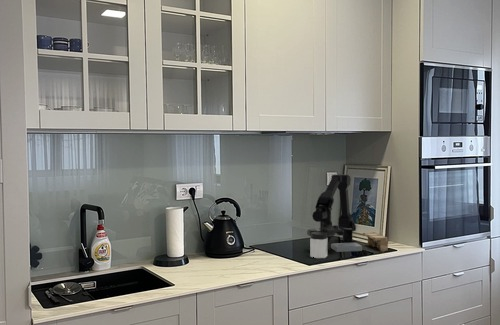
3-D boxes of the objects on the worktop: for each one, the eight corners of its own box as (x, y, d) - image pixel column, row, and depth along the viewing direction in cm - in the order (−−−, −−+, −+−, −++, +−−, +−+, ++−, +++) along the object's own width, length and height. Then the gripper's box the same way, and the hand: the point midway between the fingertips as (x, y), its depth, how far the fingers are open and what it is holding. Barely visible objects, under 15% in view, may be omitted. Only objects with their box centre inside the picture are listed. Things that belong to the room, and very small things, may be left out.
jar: (331, 256, 251) (331, 233, 251) (319, 259, 246) (320, 235, 246) (317, 253, 258) (317, 230, 258) (306, 256, 253) (306, 232, 253)
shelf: (362, 245, 279) (362, 232, 278) (374, 244, 280) (374, 232, 280) (375, 251, 263) (375, 238, 263) (387, 250, 265) (387, 237, 264)
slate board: (331, 249, 272) (331, 243, 271) (355, 248, 274) (355, 242, 274) (336, 252, 263) (336, 247, 263) (362, 251, 265) (362, 246, 265)
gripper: (313, 222, 255) (313, 252, 256) (348, 220, 259) (348, 250, 260) (306, 218, 266) (306, 247, 267) (339, 217, 270) (339, 246, 271)
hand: (325, 248), depth 266 cm, fingers closed
